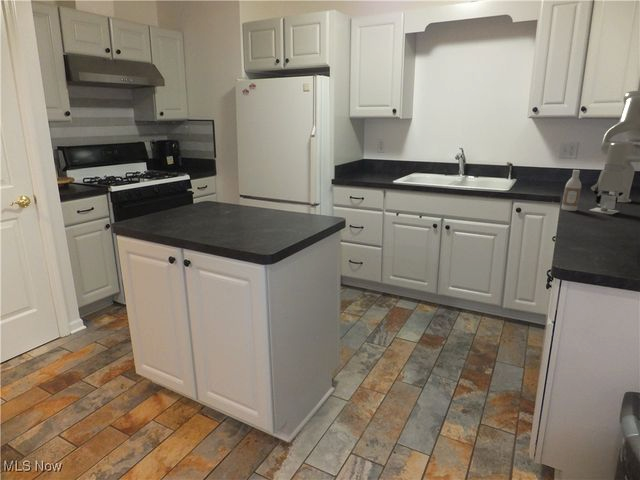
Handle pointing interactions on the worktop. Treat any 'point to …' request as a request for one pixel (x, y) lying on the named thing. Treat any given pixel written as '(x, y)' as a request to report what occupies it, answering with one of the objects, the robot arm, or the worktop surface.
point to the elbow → (607, 201)
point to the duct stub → (603, 210)
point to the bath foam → (572, 192)
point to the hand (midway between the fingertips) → (605, 203)
